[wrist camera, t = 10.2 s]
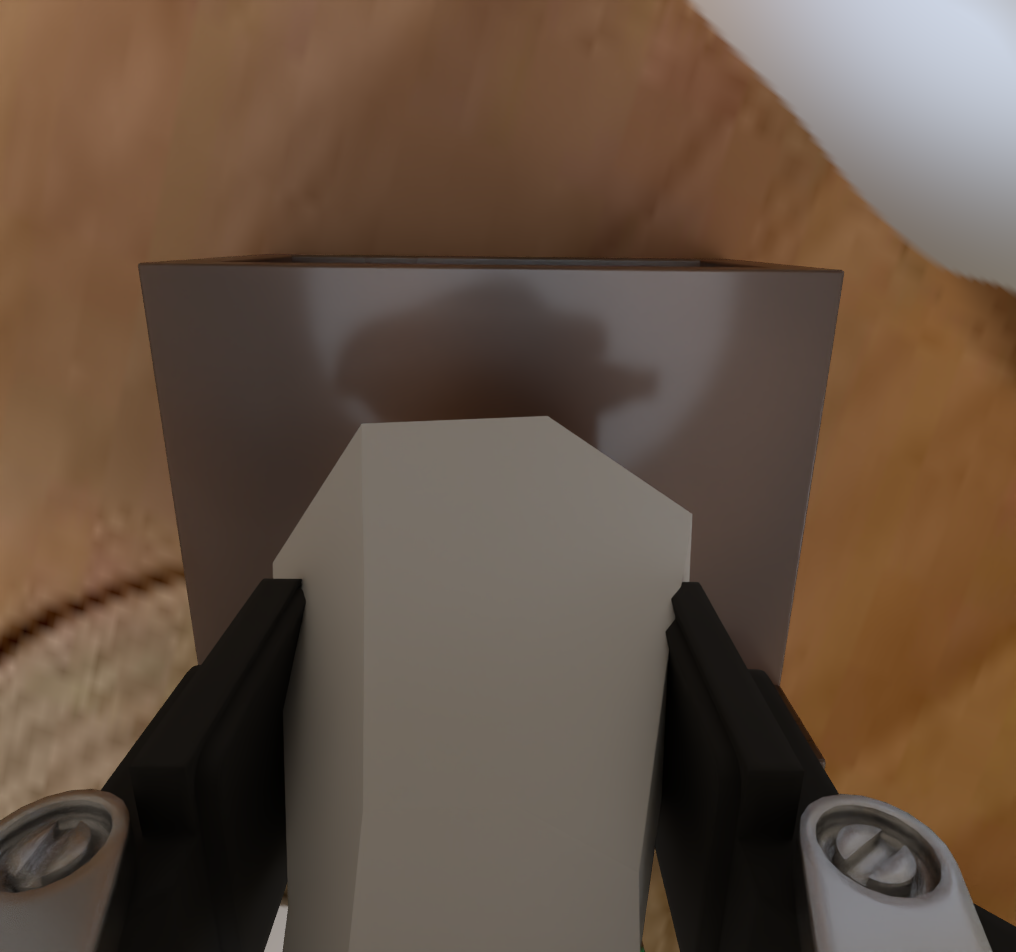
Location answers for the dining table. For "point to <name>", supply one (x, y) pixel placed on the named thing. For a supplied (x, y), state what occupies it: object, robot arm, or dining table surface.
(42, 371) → the dining table surface
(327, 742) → the flask
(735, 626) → the spice shelf
